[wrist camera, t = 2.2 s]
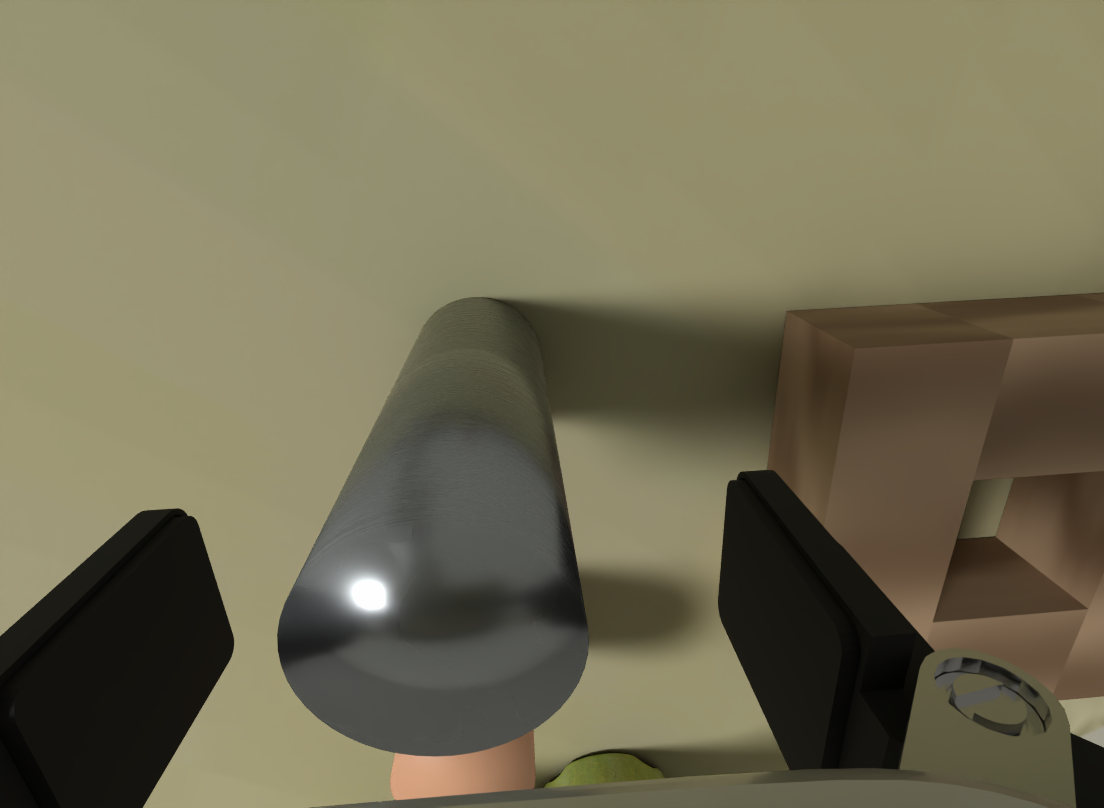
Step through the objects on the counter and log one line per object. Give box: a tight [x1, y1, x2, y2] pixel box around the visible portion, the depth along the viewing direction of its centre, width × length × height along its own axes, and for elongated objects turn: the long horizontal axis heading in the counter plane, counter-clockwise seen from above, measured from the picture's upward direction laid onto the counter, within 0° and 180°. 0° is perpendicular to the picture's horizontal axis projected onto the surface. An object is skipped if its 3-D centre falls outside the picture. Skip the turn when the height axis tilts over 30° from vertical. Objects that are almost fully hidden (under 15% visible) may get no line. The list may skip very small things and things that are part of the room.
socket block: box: [767, 293, 1104, 700], centre depth 20 cm, size 14×14×4 cm
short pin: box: [390, 730, 536, 800], centre depth 19 cm, size 4×4×7 cm
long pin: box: [277, 297, 589, 757], centre depth 13 cm, size 4×4×12 cm
